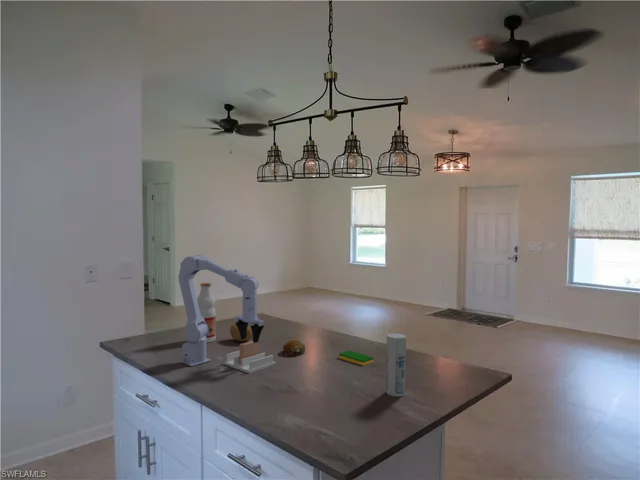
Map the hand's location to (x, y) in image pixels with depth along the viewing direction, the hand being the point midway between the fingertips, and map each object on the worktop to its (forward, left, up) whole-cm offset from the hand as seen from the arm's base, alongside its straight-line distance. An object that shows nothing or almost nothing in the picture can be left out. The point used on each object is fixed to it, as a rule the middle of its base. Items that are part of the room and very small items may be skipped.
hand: (249, 340), depth 179 cm
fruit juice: (+9, +43, -10) cm, 45 cm away
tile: (0, 0, -9) cm, 9 cm away
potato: (+20, +29, -10) cm, 37 cm away
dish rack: (0, 0, -10) cm, 10 cm away
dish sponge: (+34, -29, -11) cm, 46 cm away
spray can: (+14, -60, -10) cm, 63 cm away
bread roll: (+24, -3, -10) cm, 26 cm away
